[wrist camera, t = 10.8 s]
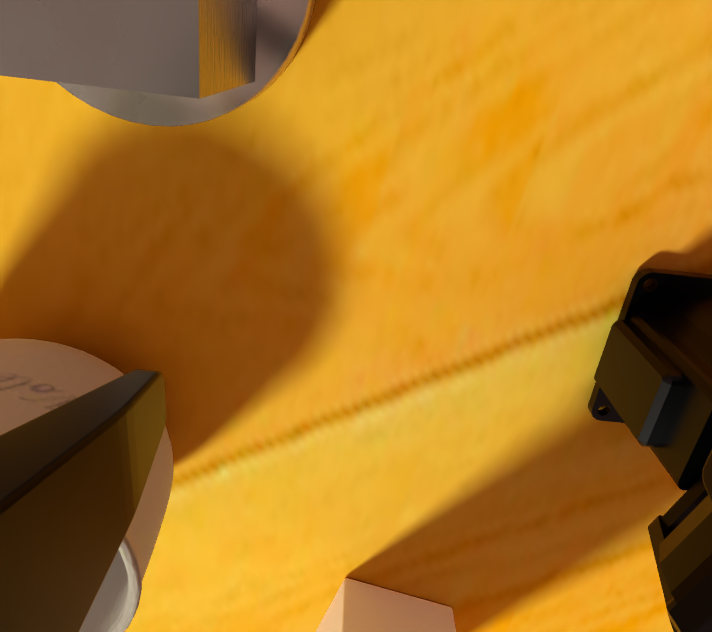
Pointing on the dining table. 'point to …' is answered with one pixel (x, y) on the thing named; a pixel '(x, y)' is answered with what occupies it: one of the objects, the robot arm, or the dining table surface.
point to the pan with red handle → (273, 54)
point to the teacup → (52, 389)
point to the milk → (383, 611)
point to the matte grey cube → (132, 44)
